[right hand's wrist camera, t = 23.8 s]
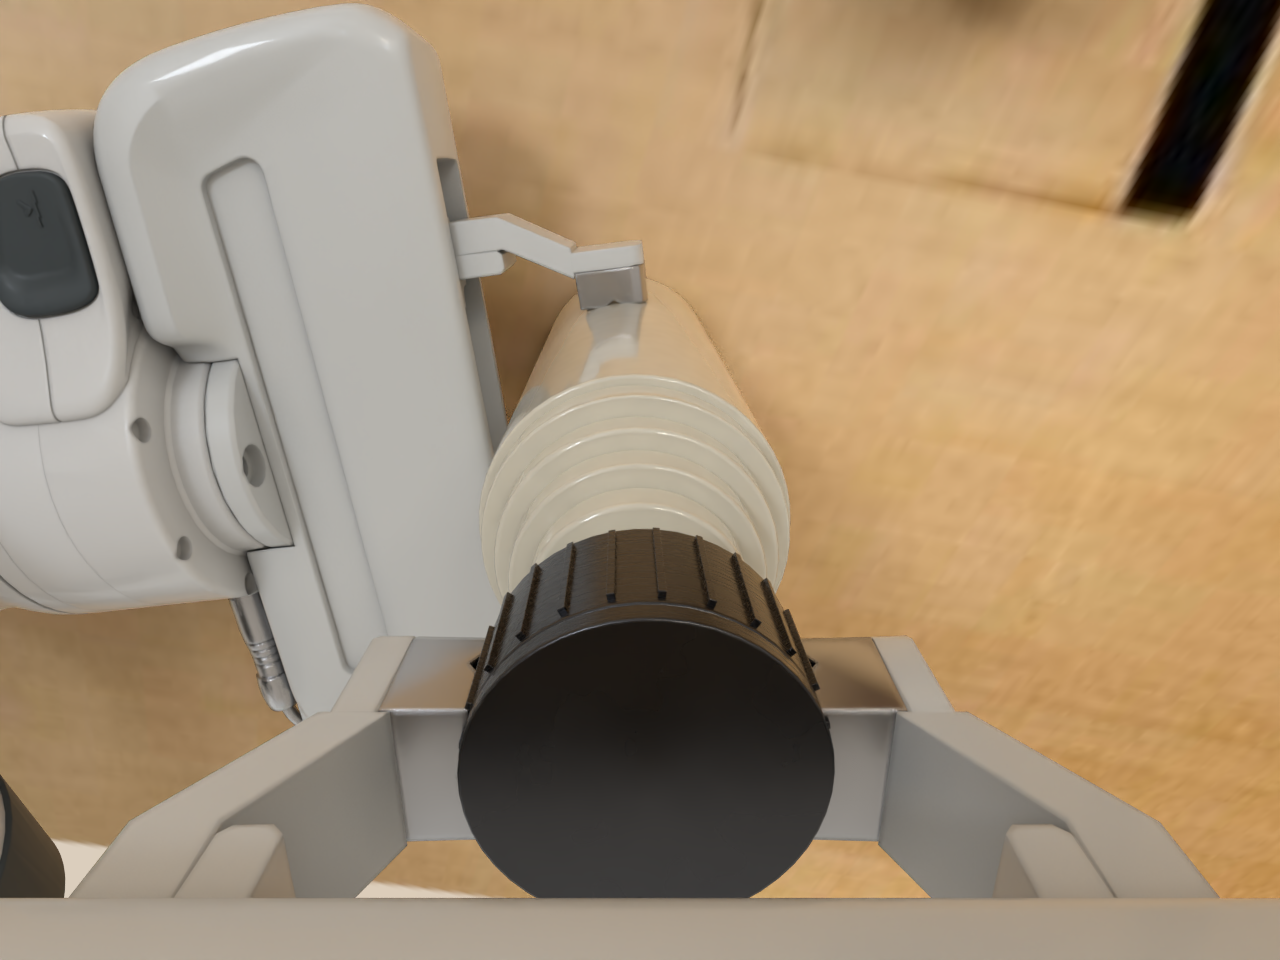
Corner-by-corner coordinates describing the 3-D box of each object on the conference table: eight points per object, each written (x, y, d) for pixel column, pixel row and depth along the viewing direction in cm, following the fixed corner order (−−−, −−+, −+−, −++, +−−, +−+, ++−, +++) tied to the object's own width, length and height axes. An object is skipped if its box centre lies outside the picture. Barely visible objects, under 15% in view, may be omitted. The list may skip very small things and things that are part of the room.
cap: (852, 703, 10) (906, 826, 8) (599, 837, 11) (593, 980, 9) (693, 462, 9) (712, 539, 7) (421, 628, 10) (369, 741, 8)
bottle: (697, 264, 27) (886, 470, 8) (715, 422, 29) (902, 895, 10) (533, 288, 27) (330, 550, 8) (562, 444, 29) (453, 953, 10)
